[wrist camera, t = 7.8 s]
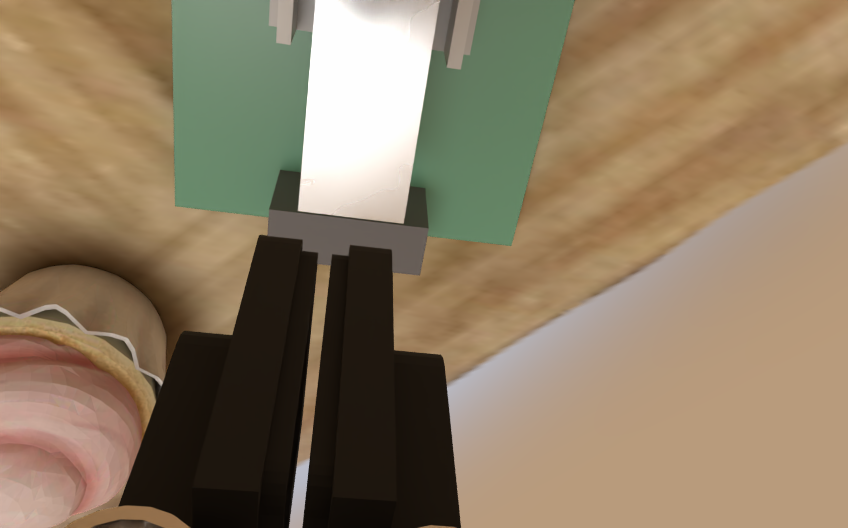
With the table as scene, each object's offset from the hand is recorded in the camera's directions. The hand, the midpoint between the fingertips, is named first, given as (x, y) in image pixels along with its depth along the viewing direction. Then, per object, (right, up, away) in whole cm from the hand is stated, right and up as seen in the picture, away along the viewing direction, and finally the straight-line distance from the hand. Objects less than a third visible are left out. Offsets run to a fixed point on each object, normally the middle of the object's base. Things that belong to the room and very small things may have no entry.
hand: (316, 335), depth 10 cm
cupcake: (-12, -1, +21) cm, 24 cm away
